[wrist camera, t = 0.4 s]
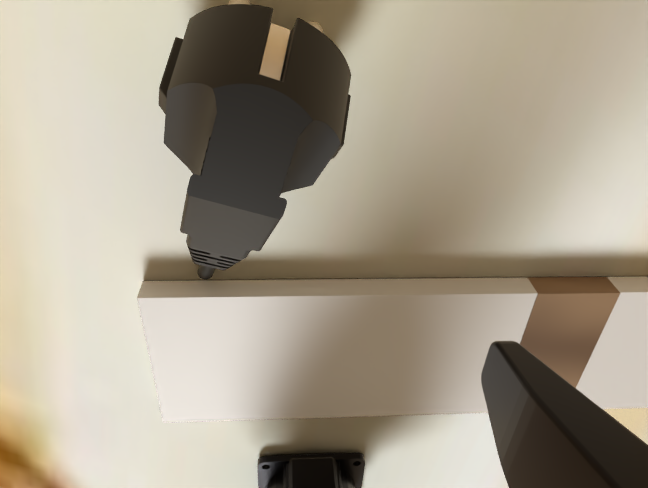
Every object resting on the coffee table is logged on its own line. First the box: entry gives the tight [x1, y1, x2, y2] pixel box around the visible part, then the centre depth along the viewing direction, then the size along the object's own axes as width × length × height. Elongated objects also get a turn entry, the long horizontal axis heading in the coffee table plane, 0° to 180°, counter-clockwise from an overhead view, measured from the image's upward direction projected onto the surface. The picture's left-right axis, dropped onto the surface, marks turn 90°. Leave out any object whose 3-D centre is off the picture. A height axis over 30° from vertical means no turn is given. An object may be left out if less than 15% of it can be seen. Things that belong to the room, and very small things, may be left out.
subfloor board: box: [137, 276, 648, 423], centre depth 26 cm, size 8×28×1 cm, turn 88°
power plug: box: [159, 0, 351, 280], centre depth 19 cm, size 6×8×12 cm
